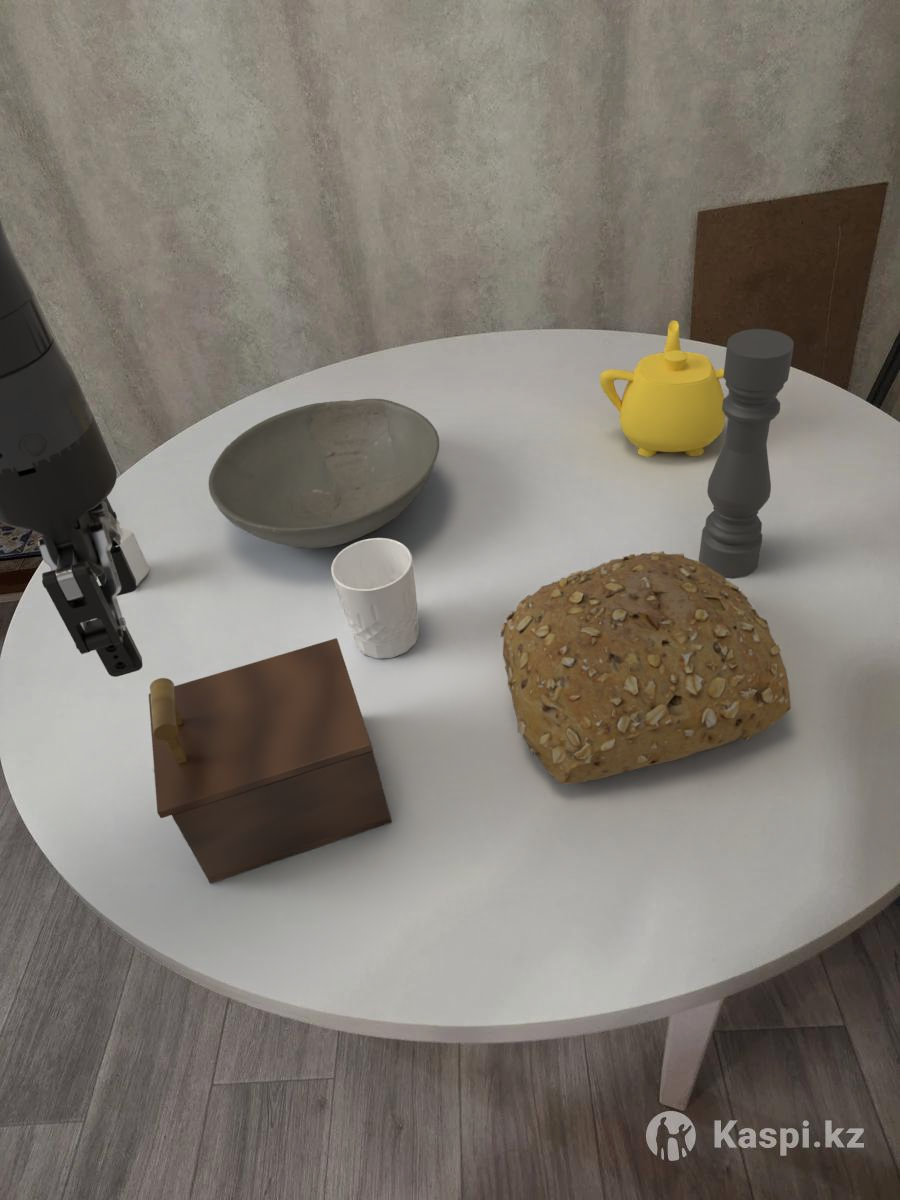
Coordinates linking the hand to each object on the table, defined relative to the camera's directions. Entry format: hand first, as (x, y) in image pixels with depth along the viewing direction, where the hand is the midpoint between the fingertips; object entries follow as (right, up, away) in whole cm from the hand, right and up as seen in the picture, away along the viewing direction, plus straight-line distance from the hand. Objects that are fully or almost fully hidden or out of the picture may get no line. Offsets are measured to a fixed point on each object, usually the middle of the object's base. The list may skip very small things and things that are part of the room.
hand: (125, 629), depth 60 cm
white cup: (+16, -2, +30) cm, 34 cm away
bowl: (+9, +13, +47) cm, 50 cm away
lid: (+7, -8, +9) cm, 14 cm away
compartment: (+8, -15, +16) cm, 24 cm away
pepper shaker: (-15, +4, +41) cm, 44 cm away
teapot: (+51, +24, +53) cm, 77 cm away
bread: (+40, -7, +21) cm, 45 cm away
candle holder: (+53, +6, +33) cm, 63 cm away
